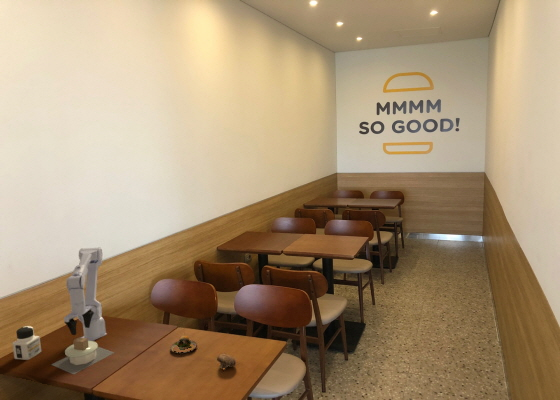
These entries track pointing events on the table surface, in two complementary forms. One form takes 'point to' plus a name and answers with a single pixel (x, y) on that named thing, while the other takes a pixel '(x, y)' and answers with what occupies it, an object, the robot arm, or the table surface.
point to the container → (26, 344)
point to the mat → (73, 368)
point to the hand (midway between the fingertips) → (80, 331)
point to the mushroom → (226, 361)
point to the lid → (81, 348)
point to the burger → (184, 344)
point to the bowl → (83, 359)
